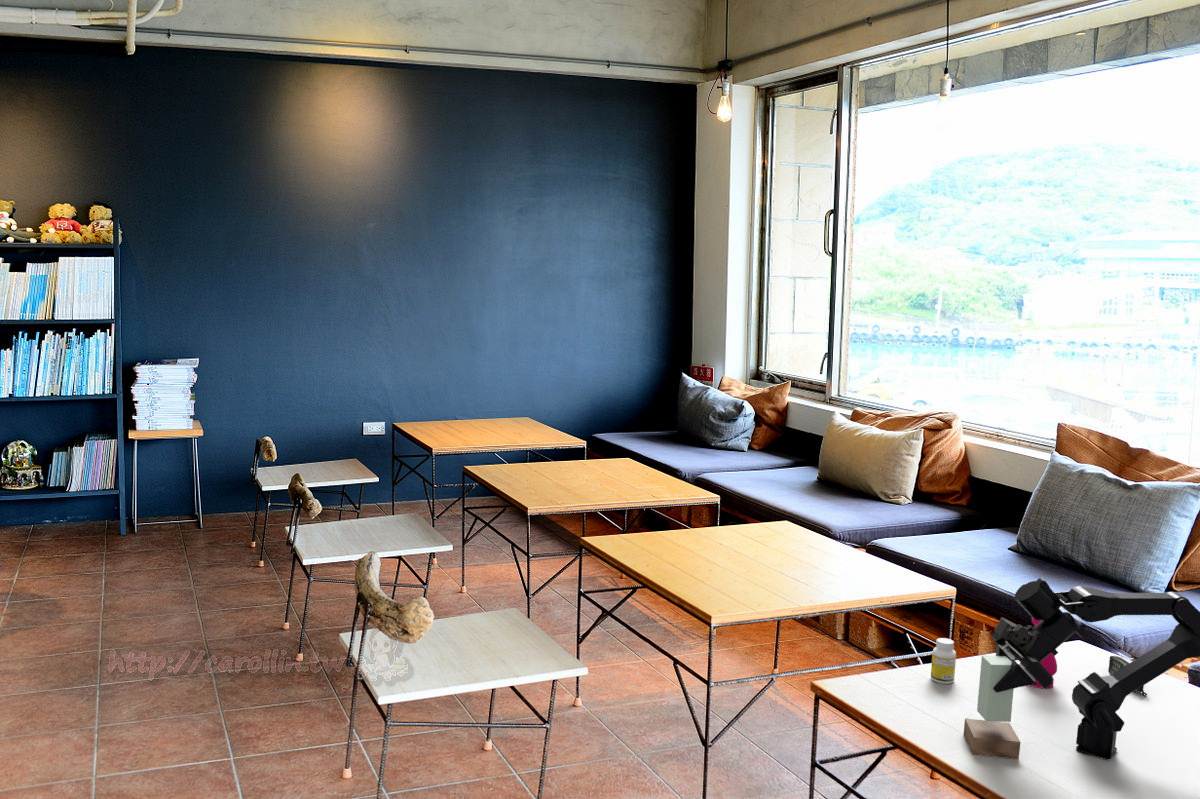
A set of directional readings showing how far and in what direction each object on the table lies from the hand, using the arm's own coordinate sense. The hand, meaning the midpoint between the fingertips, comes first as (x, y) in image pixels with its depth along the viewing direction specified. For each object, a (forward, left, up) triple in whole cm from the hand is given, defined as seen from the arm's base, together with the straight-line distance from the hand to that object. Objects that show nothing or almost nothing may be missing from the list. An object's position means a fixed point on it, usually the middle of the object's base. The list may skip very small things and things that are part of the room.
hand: (989, 685), depth 213 cm
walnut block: (-1, -1, -14) cm, 14 cm away
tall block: (-1, -1, -7) cm, 7 cm away
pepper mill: (+2, -44, -13) cm, 46 cm away
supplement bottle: (+20, -29, -13) cm, 38 cm away
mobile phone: (-14, -60, -13) cm, 63 cm away
